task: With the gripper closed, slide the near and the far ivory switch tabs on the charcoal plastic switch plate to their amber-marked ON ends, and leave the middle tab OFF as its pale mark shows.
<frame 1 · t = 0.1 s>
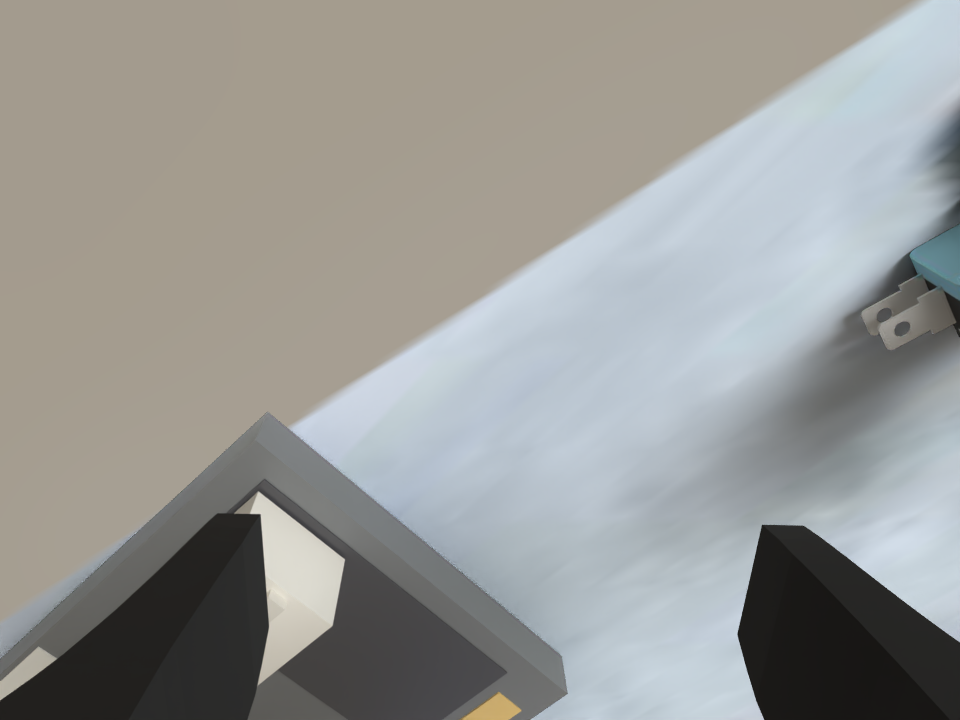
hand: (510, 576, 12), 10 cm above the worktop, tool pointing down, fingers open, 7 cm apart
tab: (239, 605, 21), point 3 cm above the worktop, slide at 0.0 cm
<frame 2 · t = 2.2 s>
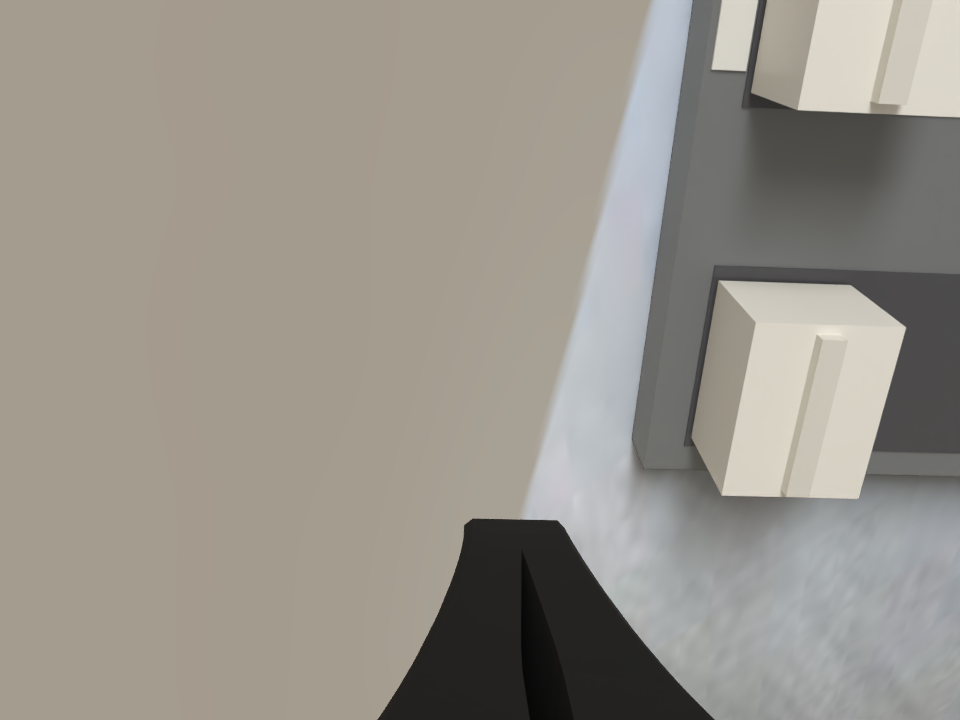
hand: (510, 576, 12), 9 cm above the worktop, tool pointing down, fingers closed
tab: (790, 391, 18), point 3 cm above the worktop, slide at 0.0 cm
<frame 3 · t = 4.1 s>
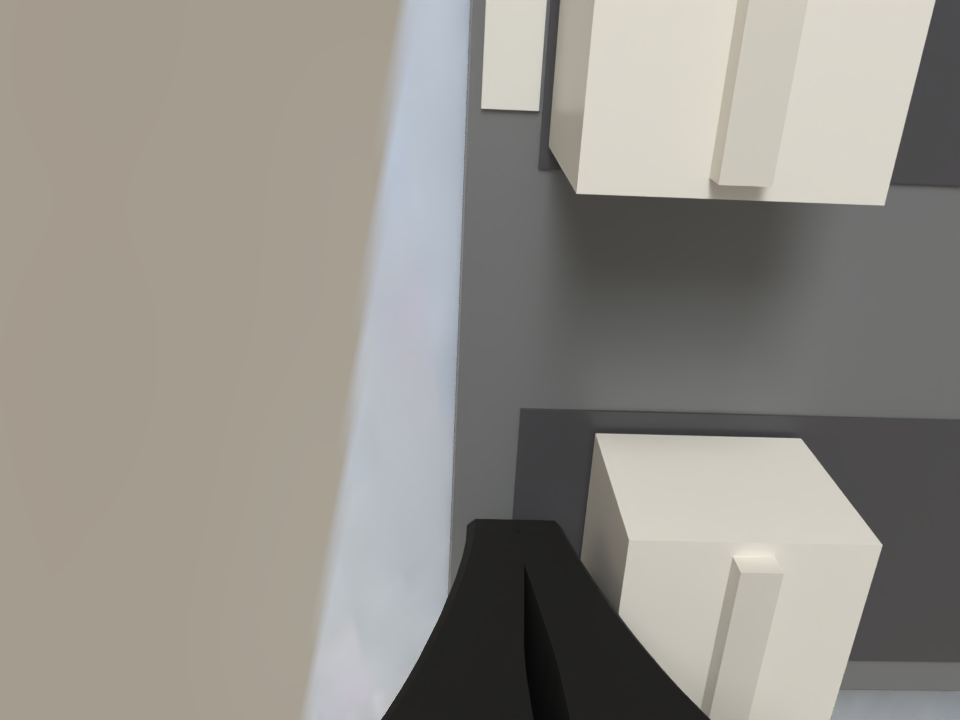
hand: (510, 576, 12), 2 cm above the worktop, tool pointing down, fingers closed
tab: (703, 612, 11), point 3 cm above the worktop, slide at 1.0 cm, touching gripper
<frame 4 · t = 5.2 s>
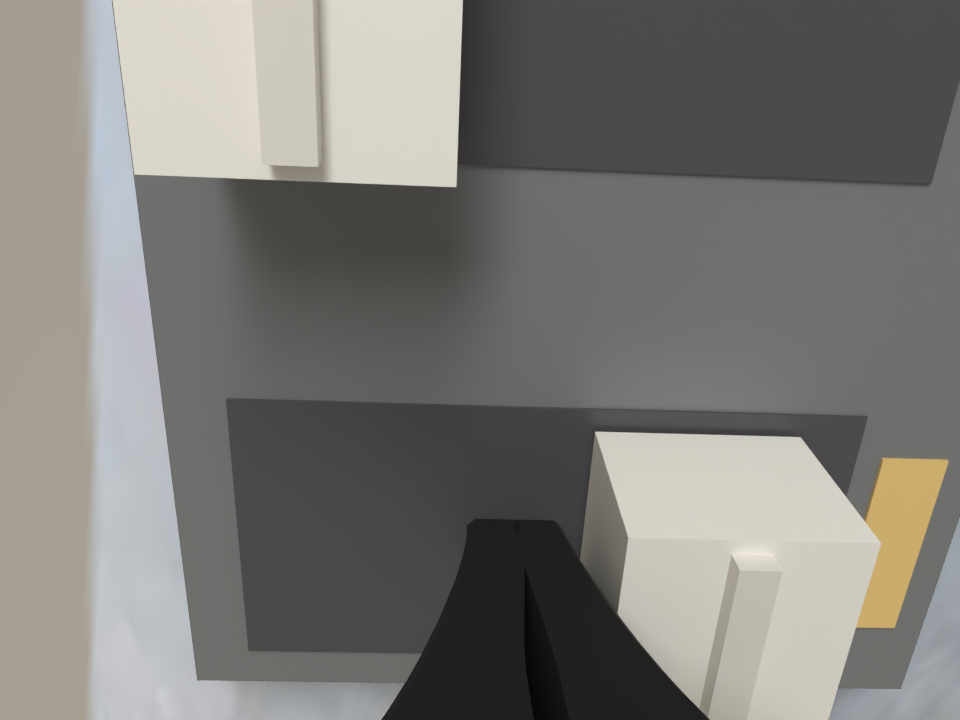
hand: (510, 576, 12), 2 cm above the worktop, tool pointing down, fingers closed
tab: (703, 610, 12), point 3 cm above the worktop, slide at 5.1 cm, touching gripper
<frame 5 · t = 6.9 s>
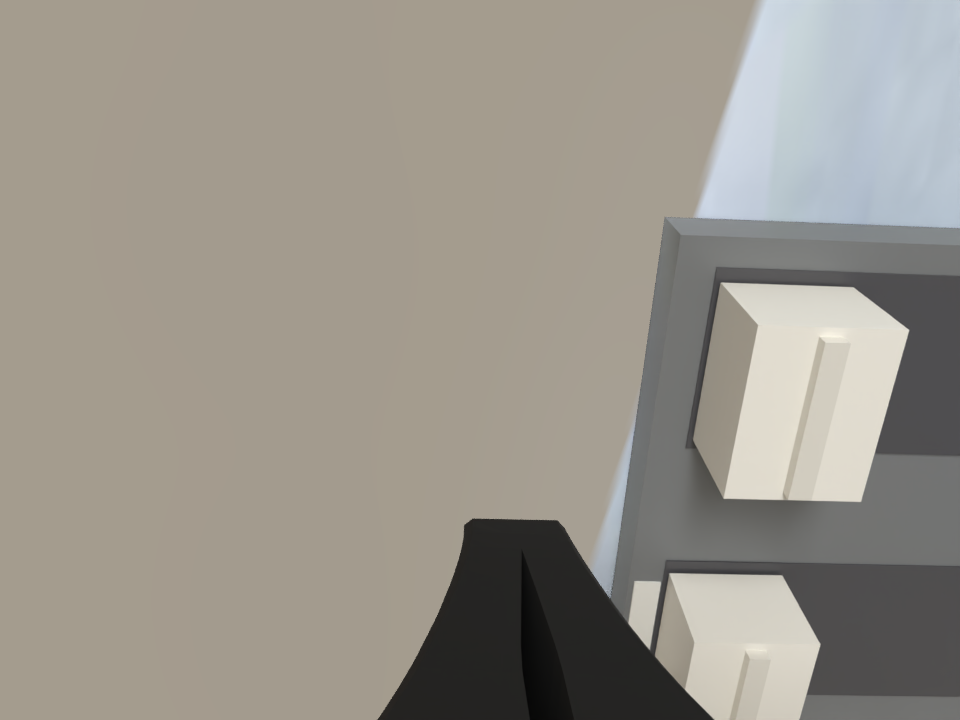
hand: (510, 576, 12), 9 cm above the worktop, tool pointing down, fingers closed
middle tab: (729, 672, 21), point 3 cm above the worktop, slide at 0.0 cm
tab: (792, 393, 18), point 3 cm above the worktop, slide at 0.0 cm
switch plate: (816, 594, 24), on the worktop
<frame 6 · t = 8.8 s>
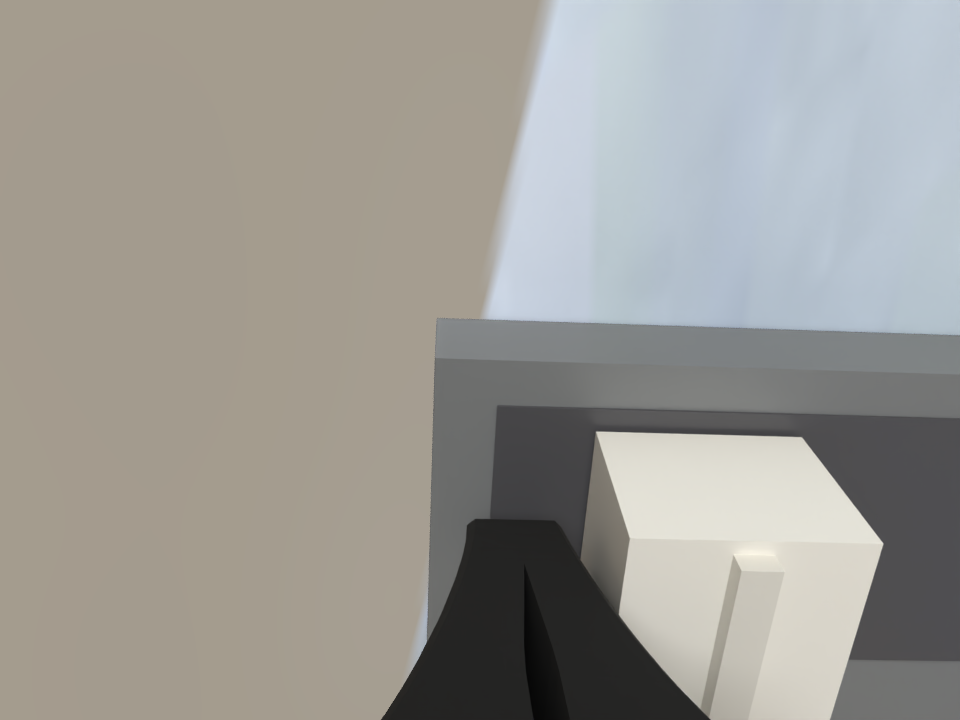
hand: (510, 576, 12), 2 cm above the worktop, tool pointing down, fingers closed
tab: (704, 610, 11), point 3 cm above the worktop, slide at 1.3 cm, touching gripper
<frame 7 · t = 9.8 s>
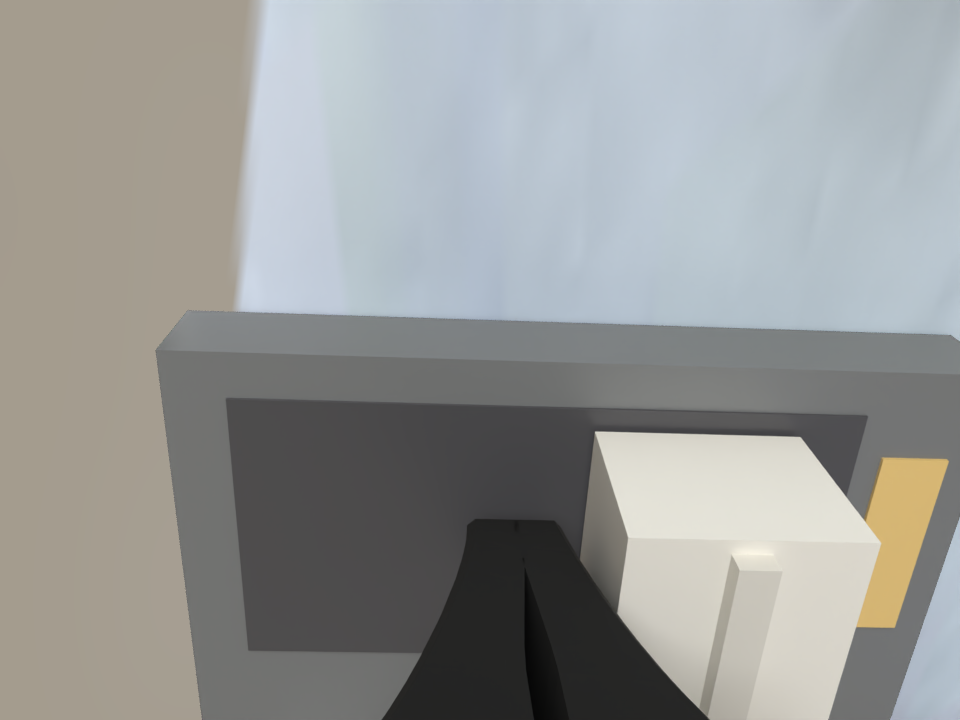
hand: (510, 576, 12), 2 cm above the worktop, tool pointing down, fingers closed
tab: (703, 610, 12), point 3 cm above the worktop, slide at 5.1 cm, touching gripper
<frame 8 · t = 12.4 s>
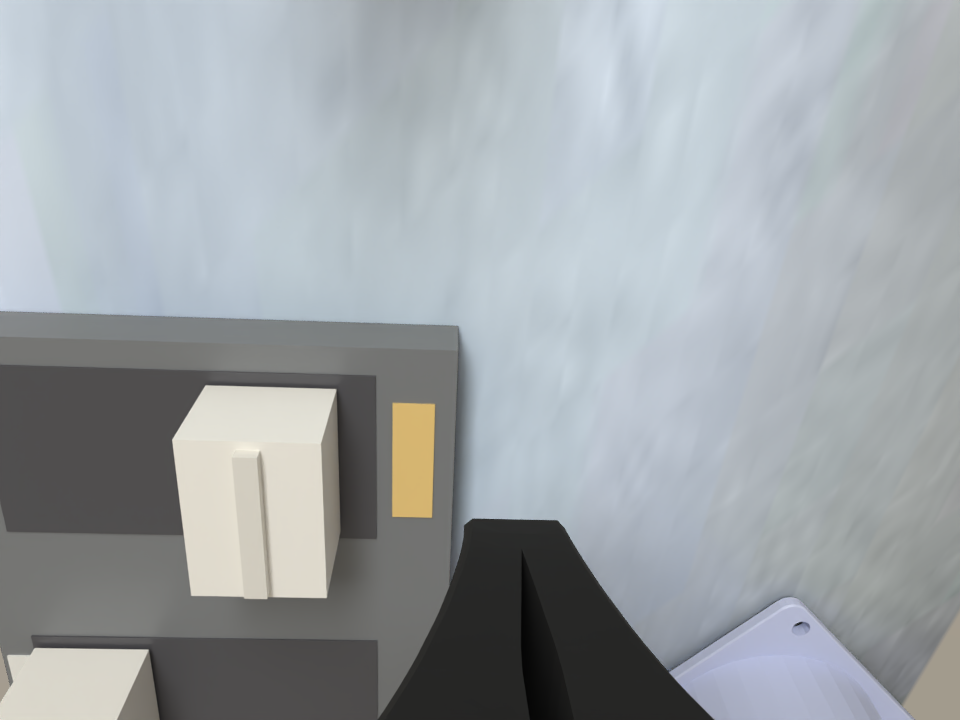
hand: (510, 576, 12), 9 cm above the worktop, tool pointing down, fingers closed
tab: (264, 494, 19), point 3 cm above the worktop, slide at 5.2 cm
switch plate: (243, 661, 25), on the worktop
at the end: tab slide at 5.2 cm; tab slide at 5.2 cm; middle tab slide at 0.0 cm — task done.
